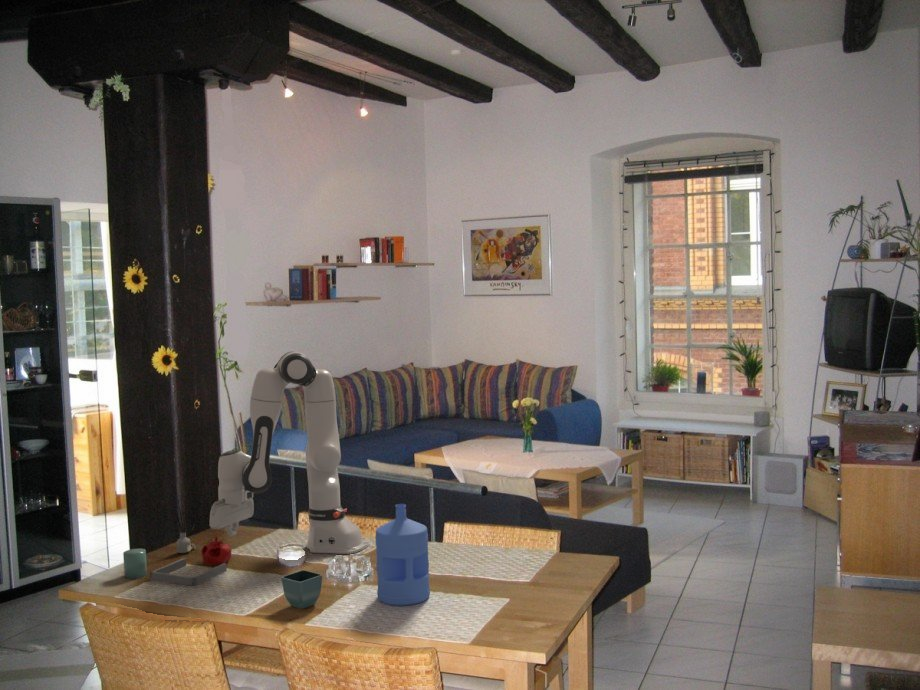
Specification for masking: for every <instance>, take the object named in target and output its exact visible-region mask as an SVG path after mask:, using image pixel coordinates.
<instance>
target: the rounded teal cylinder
mask: <svg viewBox="0 0 920 690" xmlns="http://www.w3.org/2000/svg"><path fill="white" fill-rule="evenodd" d="M122 555H123V571H124V572H123V573H124V575H123V576H124V578H125V579H126V580H135V579H141V578H144V577H147V575H148V569H147V568H148V567H147V550H146V549H145V548H131V549H128V550H127V549H126V550H125V551H123V553H122Z"/></svg>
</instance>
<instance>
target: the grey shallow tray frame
mask: <svg viewBox="0 0 920 690" xmlns="http://www.w3.org/2000/svg"><path fill="white" fill-rule="evenodd" d="M186 566H187V558H186V557H184V558H181V559H178V560H175V561H174V562H172V563H169V564H167V565H163V566H162V567H159V568H156V569H154V570H151V571H150V572H149V580H150V581H154V582H155V581H156V582H162V583H163V582H164V583H168V584H169V583H171V584H176V585H177V584H178V585H184V586H191V587H192V586H193V587H195V586H197V585H199V584H201V583H204V582H205V581H208V580H210V579H212V578H215V577H216V576H219V575H221V574H223V573H224V572H227V569H228V568H227V567H228V566H227V562H226V563H223V564H221V565H217V566H215V567H212V568H210V569H207V570H206V571H204V572H202V573H199V574H197V575H195V576H191V575H190V576H189V575H181V574H176V573H175V574H174V573H173V572H175V571H177V570H179V569H182V568H184V567H186Z"/></svg>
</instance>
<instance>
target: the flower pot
mask: <svg viewBox="0 0 920 690" xmlns="http://www.w3.org/2000/svg"><path fill="white" fill-rule="evenodd" d="M322 582H323V574H321V573H318V572H314V571H309V570H305V569H301V570H298V571H295V572H292V573H289V574H286V575H283V576H281V585H282V590H283V594H284V597H285V599H286V601H287V602H288V604H289V605H290V606H291V607H293V608H294V607H295V608H297V609H301V610H303V609H306V608H308V607H312V606H314V605H315V604H316V603H317V601H318V599H319V597H320V595H321V592H322V591H321V590H322V584H323V583H322Z"/></svg>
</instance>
